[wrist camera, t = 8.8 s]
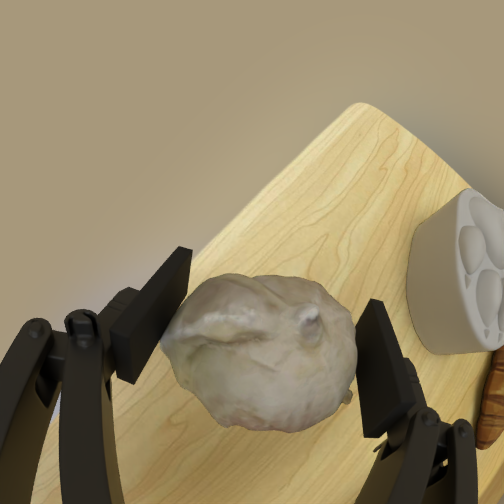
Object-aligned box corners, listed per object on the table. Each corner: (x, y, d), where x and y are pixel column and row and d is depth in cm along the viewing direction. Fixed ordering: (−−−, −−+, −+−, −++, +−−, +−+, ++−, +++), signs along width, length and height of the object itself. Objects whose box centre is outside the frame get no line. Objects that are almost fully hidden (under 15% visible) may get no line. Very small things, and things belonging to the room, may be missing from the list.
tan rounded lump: (193, 345, 19) (90, 306, 10) (285, 269, 20) (243, 174, 11) (273, 454, 14) (208, 516, 6) (380, 370, 15) (433, 355, 6)
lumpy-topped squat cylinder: (479, 246, 24) (531, 216, 16) (469, 362, 20) (533, 357, 12) (413, 212, 25) (463, 165, 17) (393, 343, 21) (462, 335, 12)
